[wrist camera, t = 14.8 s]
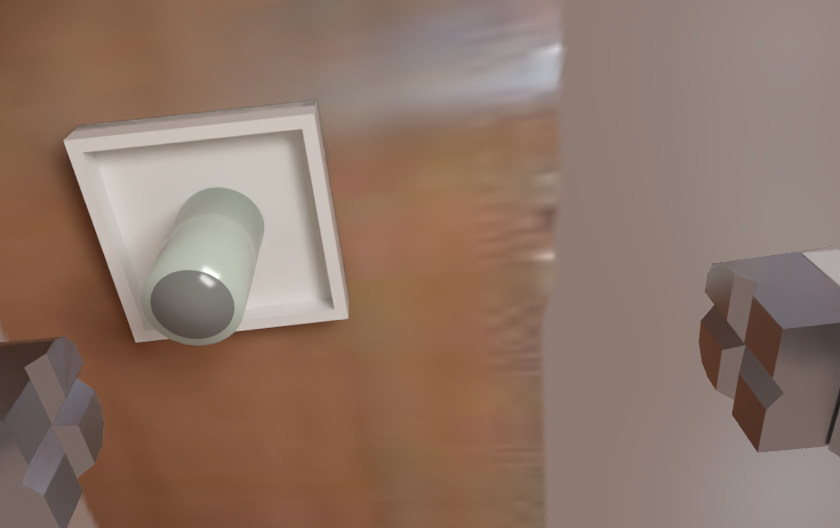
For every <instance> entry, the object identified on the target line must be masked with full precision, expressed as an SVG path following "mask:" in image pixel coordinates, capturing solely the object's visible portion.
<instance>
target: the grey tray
mask: <svg viewBox="0 0 840 528" xmlns="http://www.w3.org/2000/svg"><path fill="white" fill-rule="evenodd" d="M64 144H65V147H66V150H67V152H68V155H69V158H70V161H71V164H72V166H73V169H74V172H75V175H76V177H77V180H78V183H79V186H80V189H81V191H82V194H83V197H84V200H85V203H86V205H87V208H88V211H89V214H90V217H91V219H92V222H93V225H94V228H95V230H96V233H97V236H98V239H99V242H100V244H101V247H102V250H103V253H104V256H105V258H106V261H107V264H108V267H109V270H110V272H111V275H112V278H113V281H114V283H115V286H116V289H117V292H118V295H119V297H120V300H121V303H122V306H123V309H124V311H125V314H126V317H127V320H128V323H129V325H130V328H131V331H132V334H133V336H134V339H135V342H136V343H137V342H146V341H155V340H164V339H169V338H167V337H165V336H164V335H162V334H161V333H159V332H158V331H157V330H156V329H155V328H154V327H153V326H152V325H151V324H150V323H149V321H148V320H147V318H146V317H145V314H144V312H143V309H142V306H141V293H142V288H143V286H144V284H145V282H146V280H147V278H148V276H149V274H150V272H151V270H152V268H153V266H154V264H155V262H156V260H157V258H158V255H159V253H160V251H161V249H162V247H163V245H164V243H165V241H166V239H167V237H168V235H169V233H170V231H171V229H172V227H173V225H174V223H175V221H176V219H177V217H178V215H179V213H180V211H181V209H182V207H183V206H184V204H185V202H186V201H187V200H188V199H189V198H190V197H191V196H192V195H194V194H195V193H197V192H199V191H201V190H204V189H208V188H217V187H219V188H227V189H232V190H235V191H237V192H240V193H241V194H243V195H245V196H246V197H248V198H249V199H250V200H251V201H252V202H253V203H254V204H255V205H256V206H257V207H258V209H259V211H260V212H261V214H262V217H263V220H264V236H263V240H262V244H261V248H260V252H259V256H258V260H257V264H256V268H255V272H254V276H253V280H252V284H251V288H250V292H249V296H248V300H247V304H246V308H245V312H244V316H243V319H242V321H241V323H240V325H239V327H238V328H237V330H236V331H243V330H252V329H261V328H270V327H278V326H287V325H296V324H305V323H314V322H323V321H331V320H340V319H348V310H349V296H348V290H347V284H346V278H345V272H344V266H343V260H342V254H341V247H340V241H339V235H338V229H337V223H336V217H335V211H334V205H333V199H332V193H331V186H330V180H329V174H328V168H327V162H326V156H325V150H324V144H323V138H322V132H321V125H320V119H319V113H318V107H317V101H316V100H314V101H305V102H295V103H286V104H277V105H267V106H258V107H249V108H239V109H230V110H221V111H211V112H202V113H193V114H183V115H174V116H165V117H155V118H146V119H137V120H127V121H118V122H109V123H99V124H90V125H81V126H78V127H77V128H76V129H75V130H74V131H73V132H72V133H71V134H70V135H69V136H68V137H67V138H66V139H65V140H64Z"/></svg>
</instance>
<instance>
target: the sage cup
mask: <svg viewBox="0 0 840 528" xmlns="http://www.w3.org/2000/svg"><path fill="white" fill-rule="evenodd" d="M263 236H264V220H263V217H262V214H261V212H260V211H259V209H258V207H257V206H256V205H255V204H254V203H253V202H252V201H251V200H250V199H249V198H248V197H246V196H245V195H243V194H241V193H240V192H237V191H235V190H232V189H227V188H219V187H217V188H208V189H204V190H201V191H199V192H197V193H195V194H194V195H192V196H191V197H190V198H189V199H188V200H187V201H186V202H185V204H184V206H183V207H182V209H181V211H180V213H179V215H178V217H177V219H176V221H175V223H174V225H173V227H172V229H171V231H170V233H169V235H168V237H167V239H166V241H165V243H164V245H163V247H162V249H161V251H160V253H159V255H158V258H157V260H156V262H155V264H154V266H153V268H152V270H151V272H150V274H149V276H148V278H147V280H146V282H145V284H144V286H143V288H142V293H141V306H142V309H143V312H144V314H145V317H146V318H147V320H148V321H149V323H150V324H151V325H152V326H153V327H154V328H155V329H156V330H157V331H158V332H159V333H161V334H162V335H164V336H165V337H167V338H169V339H171V340H173V341H176V342H179V343H183V344H187V345H209V344H213V343H217V342H219V341H222V340H224V339H226V338H227V337H229V336H230V335H231V334H233V333H234V332H235V331H236V330H237V328H238V327H239V325H240V323H241V321H242V319H243V316H244V312H245V308H246V304H247V300H248V296H249V292H250V288H251V284H252V280H253V276H254V272H255V268H256V264H257V260H258V256H259V252H260V248H261V244H262V240H263Z"/></svg>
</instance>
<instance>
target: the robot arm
mask: <svg viewBox="0 0 840 528" xmlns="http://www.w3.org/2000/svg"><path fill="white" fill-rule="evenodd" d="M705 293H706V294H707V295H708V296H709V298H710V299H711V301H712V302H713V303H714V306H713V307H712V308H711V310H710V311H709V312H708V313H707V314H706V315H705V317H704V318H703V319H702V320H701V325H700V335H699V346H700V353H701V359H702V364H703V366H704V368H705V371H706V374H707V377H708V378H709V380H710V381H711V383H712V385H713V386H714V388H715V389H716V390H717V391H718V392H720V393H722V394H724V395H726V396H728V397H730V398H732V399H734V405H733V411H732V415H733V417H734V418H735V420H736V421H737V422H738V424H739V425H740V427H741V428H742V430H743V431H744V433H745V434H746V436H747V437H748V439H749V440H750V442H751V443H752V445H753V446H754V448H755V449H756V451H757V452H768V451H778V450H789V449H800V448H811V447H821V446H829V447H828V449H829V450H830V451H832V452H833V453H835V454H836V455H838V456H840V249H838V248H834V247H824V248H817V249H810V250H804V251H797V252H791V253H786V254H778V255H771V256H764V257H757V258H749V259H743V260H735V261H728V262H720V263H713V264H712V266H711V268H710V270H709V273H708V275H707V281H706V288H705ZM83 364H84V363H83V361H82V359H81V357H80V355H79V352H78V350H77V348H76V346H75V344H74V342H72V341H71V340H69V339H67V338H65V337H64V336H63V337H53V338H42V339H31V340H21V341H10V342H0V528H67V526H68V524H69V522H70V519H71V517H72V515H73V512H74V510H75V508H76V506H77V503H78V501H79V499H80V497H81V494H82V492H83V491H82V488H81V486H80V484H79V482H78V480H77V478H78V477H79V476H80V475H82V474H83V473H84V472H85V471H86V470H88V469H89V468H90V467H91V466H92V465H94V464H95V462H96V459H97V457H98V454H99V452H100V449H101V447H102V440H103V429H104V421H103V415H102V409H101V405H100V402H99V400H98V397H97V395H96V392H95V391H94V390H93V389H92V388H90V387H89V386H87V385H86V384H84V383H83V382H81V381H80V380H79V379H77V377H78V375H79V373H80V370H81V368H82V366H83Z"/></svg>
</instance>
